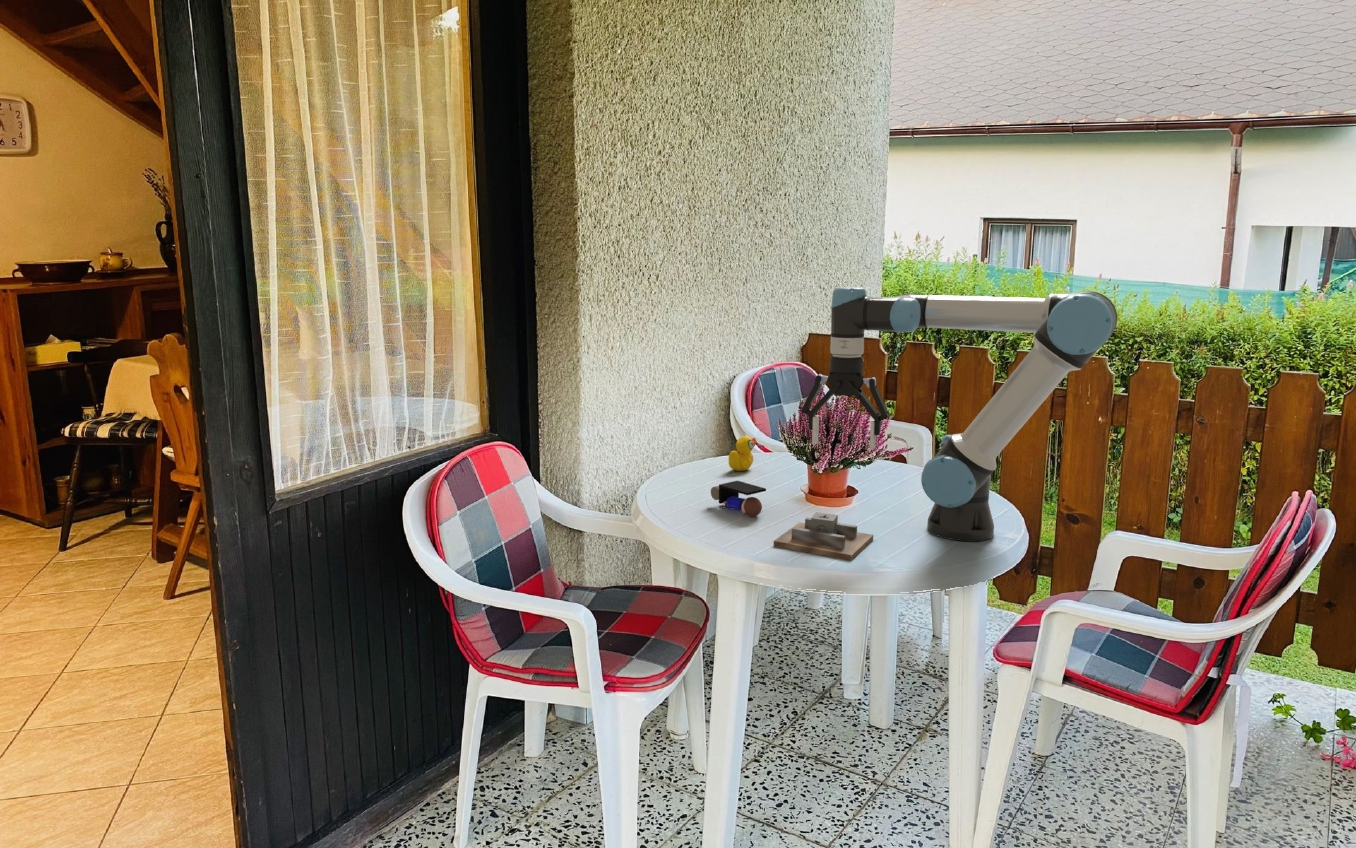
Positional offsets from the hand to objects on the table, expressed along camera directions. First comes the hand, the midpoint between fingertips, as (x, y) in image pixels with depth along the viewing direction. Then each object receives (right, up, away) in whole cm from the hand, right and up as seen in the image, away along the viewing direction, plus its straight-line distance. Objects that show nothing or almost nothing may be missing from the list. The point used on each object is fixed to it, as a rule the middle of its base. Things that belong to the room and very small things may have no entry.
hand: (843, 446), depth 219 cm
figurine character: (-24, -17, +17) cm, 33 cm away
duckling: (-20, -9, +57) cm, 61 cm away
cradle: (-5, -22, -6) cm, 23 cm away
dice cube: (-6, -21, -6) cm, 22 cm away
